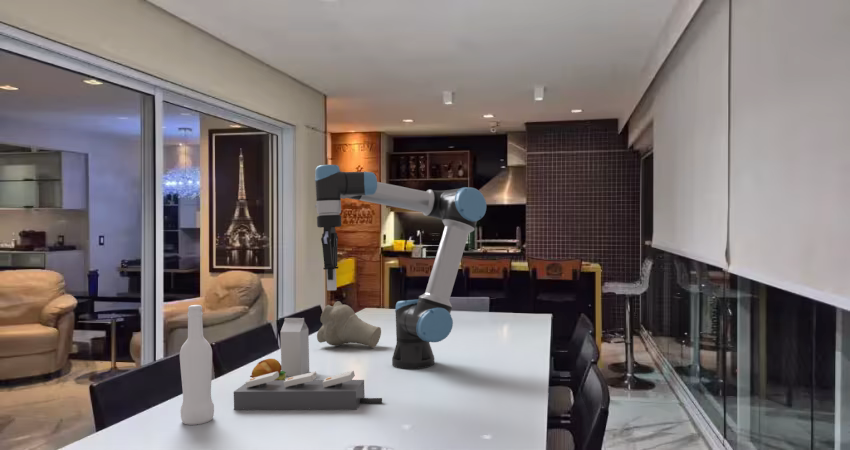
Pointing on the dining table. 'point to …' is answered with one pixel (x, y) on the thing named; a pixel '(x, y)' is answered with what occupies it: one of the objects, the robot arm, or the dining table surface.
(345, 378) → the rocker
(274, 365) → the cheeseburger
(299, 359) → the milk carton
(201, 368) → the bottle
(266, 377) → the rocker
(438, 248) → the robot arm
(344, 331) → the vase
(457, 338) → the dining table surface
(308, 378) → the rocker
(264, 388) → the power strip
